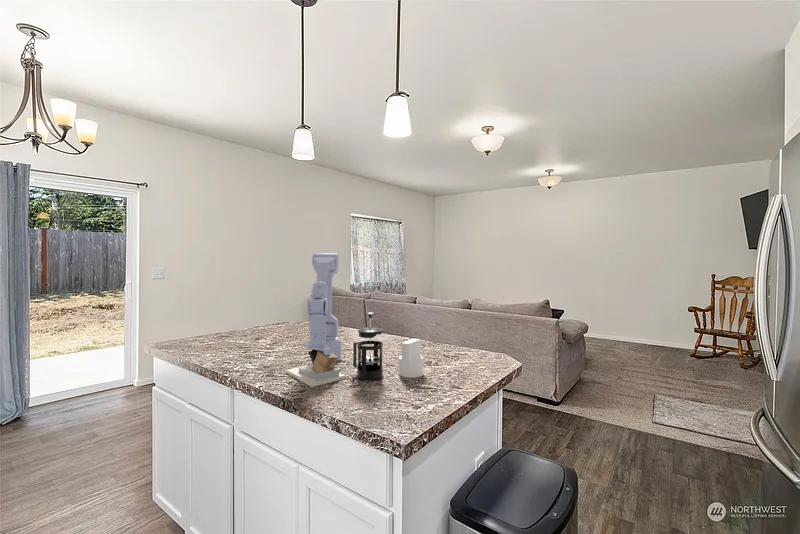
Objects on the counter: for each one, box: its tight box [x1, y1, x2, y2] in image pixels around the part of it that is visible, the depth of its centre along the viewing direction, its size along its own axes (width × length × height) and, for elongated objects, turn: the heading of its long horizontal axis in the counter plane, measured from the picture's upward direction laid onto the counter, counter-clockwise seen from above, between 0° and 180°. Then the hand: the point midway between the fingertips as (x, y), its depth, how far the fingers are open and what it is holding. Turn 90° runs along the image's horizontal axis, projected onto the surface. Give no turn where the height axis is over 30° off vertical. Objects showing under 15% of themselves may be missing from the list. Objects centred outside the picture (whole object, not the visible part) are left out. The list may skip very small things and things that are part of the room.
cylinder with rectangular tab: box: [398, 338, 424, 379], centre depth 136 cm, size 9×9×12 cm
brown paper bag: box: [312, 351, 338, 373], centre depth 128 cm, size 5×5×8 cm
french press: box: [352, 311, 384, 382], centre depth 131 cm, size 12×9×23 cm
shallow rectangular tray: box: [285, 364, 346, 388], centre depth 132 cm, size 13×19×4 cm
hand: (317, 370), depth 131 cm, fingers closed, pressing on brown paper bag
